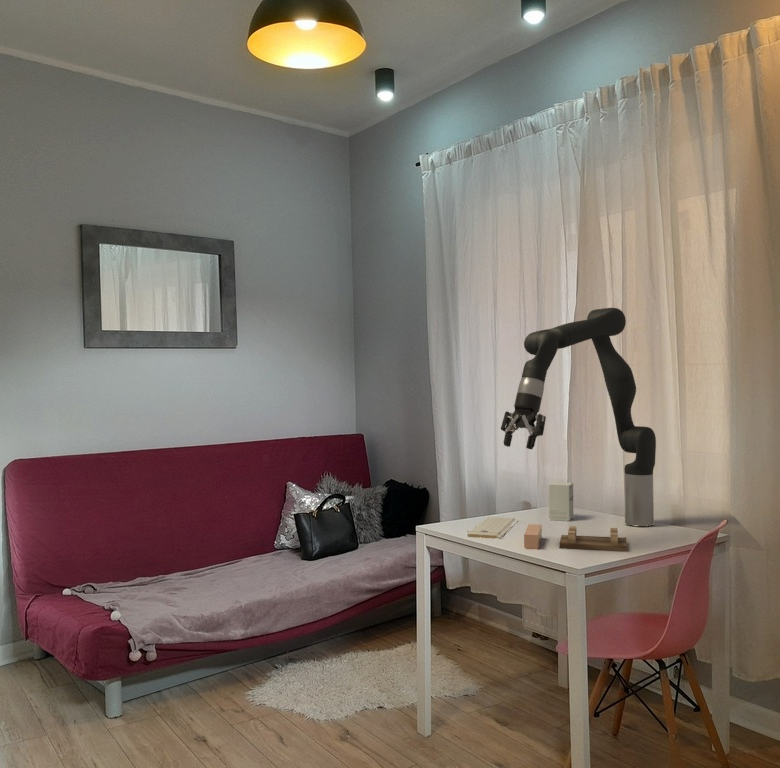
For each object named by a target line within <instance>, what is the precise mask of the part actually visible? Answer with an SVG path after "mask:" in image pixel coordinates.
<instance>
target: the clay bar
mask: <svg viewBox="0 0 780 768" xmlns="http://www.w3.org/2000/svg"><path fill="white" fill-rule="evenodd" d="M542 529H543V525H542V524H536V523H535V524H532V523H531V524H528V525H527V527H526V529H525V531H524V534H523V541H524V542H523V548H526V549H525V550H535V549H538V548H540V546H541V542H542V539H543V537H542V536H543V535H542V533H543V531H542ZM538 550H539V549H538Z"/></svg>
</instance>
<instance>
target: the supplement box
mask: <svg viewBox="0 0 780 768" xmlns="http://www.w3.org/2000/svg"><path fill="white" fill-rule="evenodd" d="M571 518H572V519H574V483H573V482H563V481H562V482H561V481H559V482H558V481H557V482H555V481H553V482H552V483H550V484H548V519H553V520H552V521H559V520H570V519H571ZM572 519H571V520H572ZM571 520H570V521H571Z"/></svg>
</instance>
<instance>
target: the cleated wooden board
mask: <svg viewBox="0 0 780 768" xmlns="http://www.w3.org/2000/svg"><path fill="white" fill-rule="evenodd" d="M627 542H628V541H627V537H619V531H618V527H610V536H597V535H596V536H595V535H594V536H592V535H577V526H574V525H572V526H571V525H570V526H569V527H568V532H567V534H561V536H560V540H559V544H558V548H559V549H564V548H565V549H568V550H569V549H570V550H585V551H586V550H587V551H605V552H606V551H610V552H625V551H627V552H628V543H627Z"/></svg>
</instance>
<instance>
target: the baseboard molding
mask: <svg viewBox="0 0 780 768" xmlns="http://www.w3.org/2000/svg"><path fill="white" fill-rule="evenodd" d="M515 520H516V519H515V517H511V518H510V517H500V516H499V517H497V516H488V517H487V518H485V519H483V521H482V522H480V523H479V524H478V525H477V526H475V527H474V528H472V530H470V531H469V530H467V534H466V535H467V538H480V537H481V538H483V539H495V538H499V539H498V540H501V539H504V537H505V535H506V534H507V533H508V532H509V531H510V530H511V529H512V528H511V526H512V525H511V524H512V523H513V522H514V521H515ZM510 528H511V529H510ZM509 529H510V530H509ZM508 530H509V531H508ZM507 531H508V532H507ZM506 532H507V533H506ZM505 533H506V534H505ZM504 534H505V535H504ZM503 535H504V536H503ZM502 536H503V537H502ZM501 537H502V538H501ZM500 538H501V539H500Z"/></svg>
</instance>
